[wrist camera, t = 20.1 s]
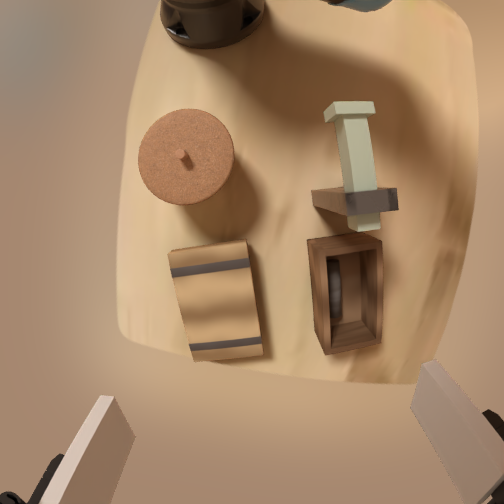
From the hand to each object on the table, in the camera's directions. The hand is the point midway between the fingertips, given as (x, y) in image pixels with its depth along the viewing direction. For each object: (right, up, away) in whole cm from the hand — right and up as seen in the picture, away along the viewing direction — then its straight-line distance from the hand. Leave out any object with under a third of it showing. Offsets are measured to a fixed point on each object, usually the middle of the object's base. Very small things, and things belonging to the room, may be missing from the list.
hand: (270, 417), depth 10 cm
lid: (-5, 0, +29) cm, 30 cm away
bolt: (+9, +15, +18) cm, 25 cm away
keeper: (+10, +14, +27) cm, 32 cm away
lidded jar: (-8, +19, +27) cm, 33 cm away
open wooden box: (+12, +2, +30) cm, 32 cm away
